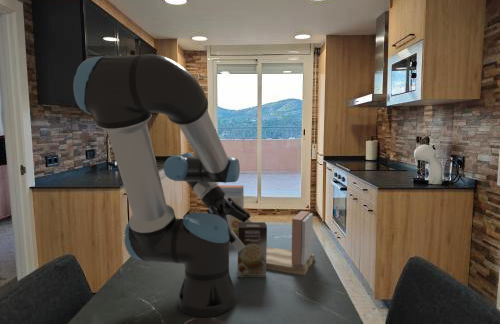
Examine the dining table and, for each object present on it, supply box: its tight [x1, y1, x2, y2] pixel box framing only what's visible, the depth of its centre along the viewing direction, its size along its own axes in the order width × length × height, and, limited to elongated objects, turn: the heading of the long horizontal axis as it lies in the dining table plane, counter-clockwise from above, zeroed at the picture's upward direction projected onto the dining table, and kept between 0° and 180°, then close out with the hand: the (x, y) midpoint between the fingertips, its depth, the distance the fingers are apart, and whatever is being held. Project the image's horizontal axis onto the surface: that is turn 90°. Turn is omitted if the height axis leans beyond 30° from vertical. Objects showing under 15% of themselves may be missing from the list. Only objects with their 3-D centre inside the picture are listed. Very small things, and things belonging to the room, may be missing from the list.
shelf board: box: [266, 246, 315, 276], centre depth 116 cm, size 14×18×2 cm
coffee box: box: [236, 221, 268, 278], centre depth 107 cm, size 9×6×16 cm
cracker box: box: [217, 184, 245, 235], centre depth 148 cm, size 14×6×21 cm, turn 84°
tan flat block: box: [291, 210, 310, 265], centre depth 113 cm, size 11×3×15 cm, turn 157°
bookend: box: [292, 212, 314, 267], centre depth 112 cm, size 11×4×15 cm, turn 157°
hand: (250, 242), depth 108 cm, fingers open, 13 cm apart
